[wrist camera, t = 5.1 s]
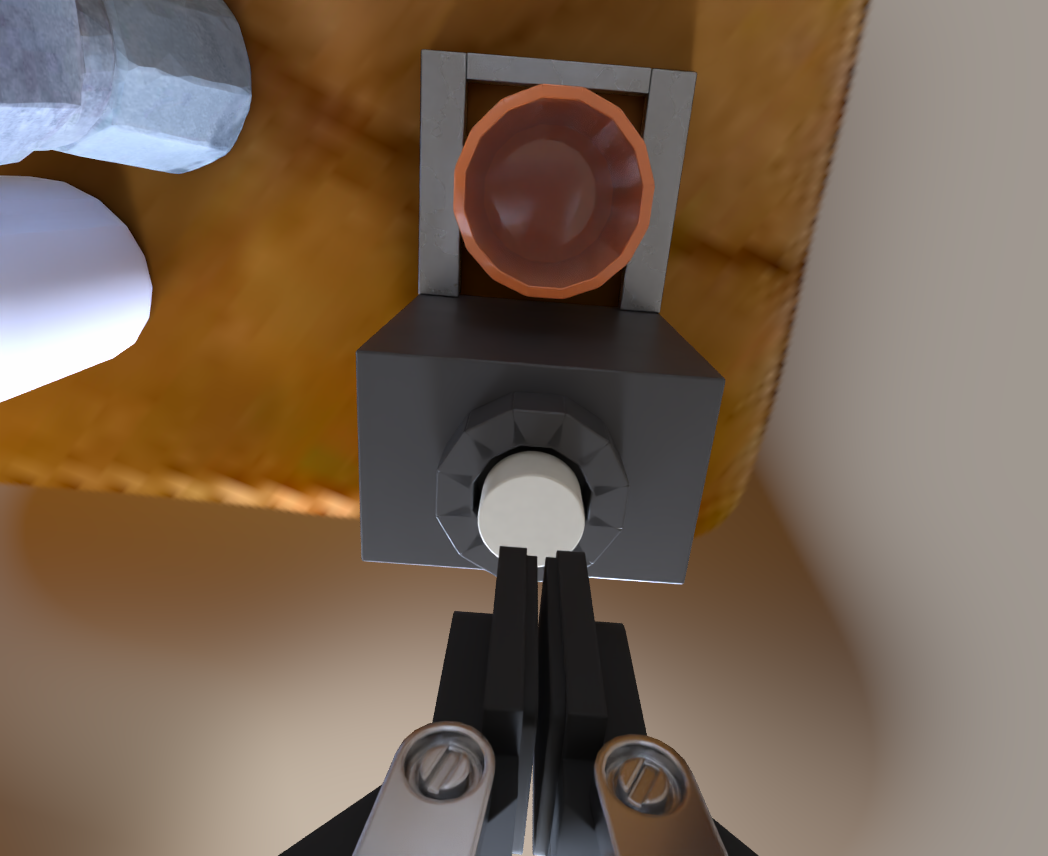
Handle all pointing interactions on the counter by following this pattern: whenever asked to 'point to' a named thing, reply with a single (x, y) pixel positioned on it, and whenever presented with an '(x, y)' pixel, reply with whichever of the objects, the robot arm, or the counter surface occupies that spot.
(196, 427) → the counter surface
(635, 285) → the cup bay
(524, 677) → the robot arm
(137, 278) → the soap bottle
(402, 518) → the grey box with dial
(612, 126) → the cup
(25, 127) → the moka pot
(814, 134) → the counter surface
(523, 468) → the brew button
